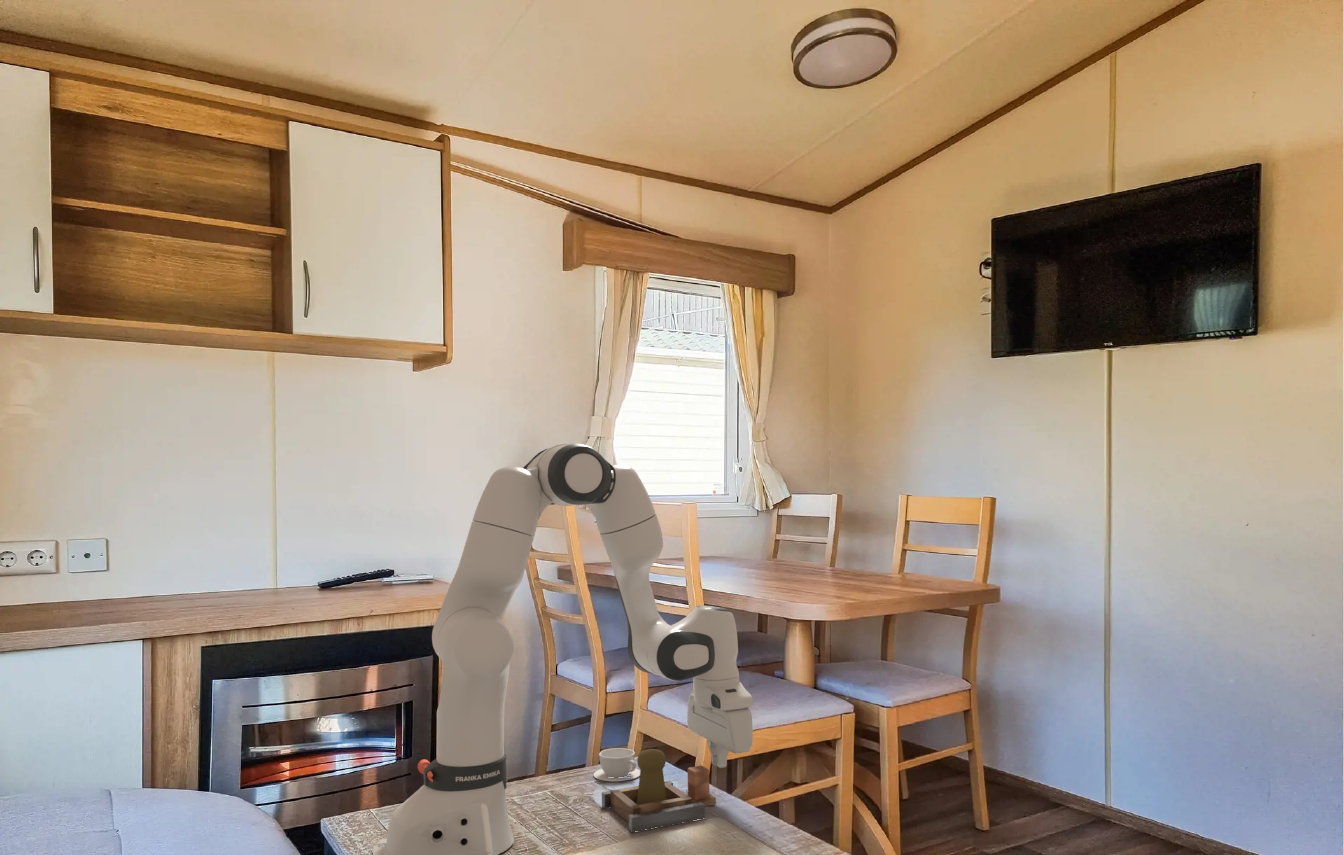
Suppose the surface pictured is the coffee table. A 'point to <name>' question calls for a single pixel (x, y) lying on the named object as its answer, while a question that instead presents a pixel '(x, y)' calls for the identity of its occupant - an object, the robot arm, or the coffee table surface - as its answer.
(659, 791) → the cork
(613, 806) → the frame
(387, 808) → the coffee table surface
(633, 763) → the teacup
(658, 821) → the lane rails
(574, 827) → the coffee table surface
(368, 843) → the coffee table surface
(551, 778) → the coffee table surface
